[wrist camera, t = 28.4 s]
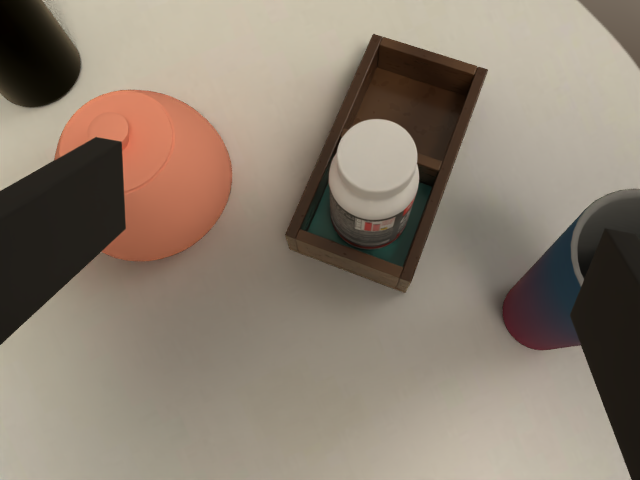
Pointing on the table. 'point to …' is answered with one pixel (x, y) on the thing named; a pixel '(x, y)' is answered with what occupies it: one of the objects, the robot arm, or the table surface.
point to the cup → (565, 274)
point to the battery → (34, 54)
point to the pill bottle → (373, 183)
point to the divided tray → (431, 143)
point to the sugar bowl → (157, 169)
